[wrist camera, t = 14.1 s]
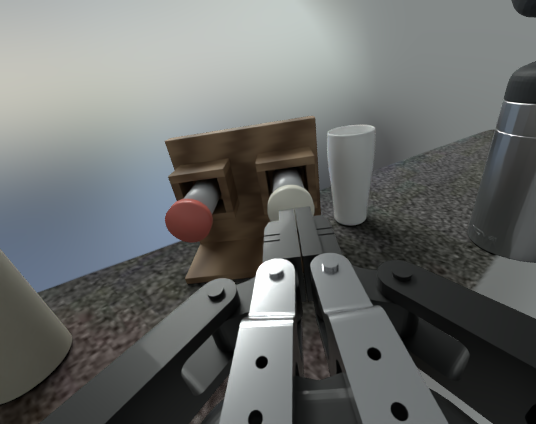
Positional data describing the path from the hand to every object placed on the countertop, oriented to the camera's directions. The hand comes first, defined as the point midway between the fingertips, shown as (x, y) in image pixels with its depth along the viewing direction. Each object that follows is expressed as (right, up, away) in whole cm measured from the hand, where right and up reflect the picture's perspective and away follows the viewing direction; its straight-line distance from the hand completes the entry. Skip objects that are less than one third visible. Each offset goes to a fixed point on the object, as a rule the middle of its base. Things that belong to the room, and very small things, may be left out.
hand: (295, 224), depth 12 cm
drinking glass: (+13, -1, +30) cm, 33 cm away
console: (-3, -6, +26) cm, 26 cm away
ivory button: (+1, +1, +19) cm, 19 cm away
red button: (-9, 0, +20) cm, 22 cm away
